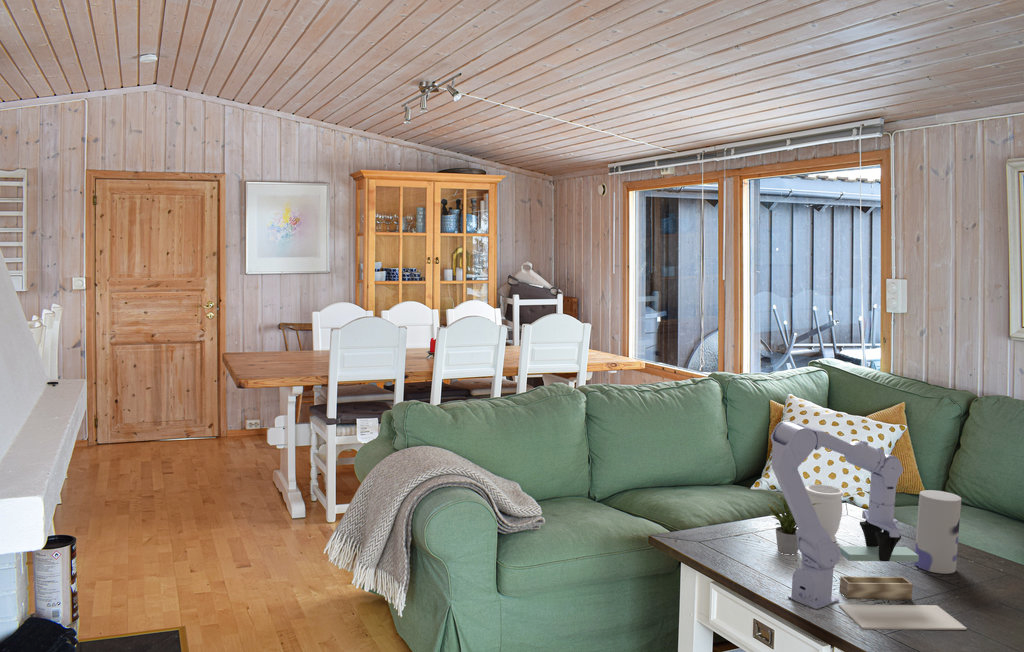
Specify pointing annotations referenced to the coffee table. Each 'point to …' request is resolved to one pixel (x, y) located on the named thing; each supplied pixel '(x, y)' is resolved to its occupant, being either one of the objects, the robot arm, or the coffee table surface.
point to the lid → (877, 554)
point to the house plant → (785, 529)
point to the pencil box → (876, 588)
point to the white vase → (827, 506)
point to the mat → (901, 617)
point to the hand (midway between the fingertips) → (877, 556)
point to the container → (938, 531)
